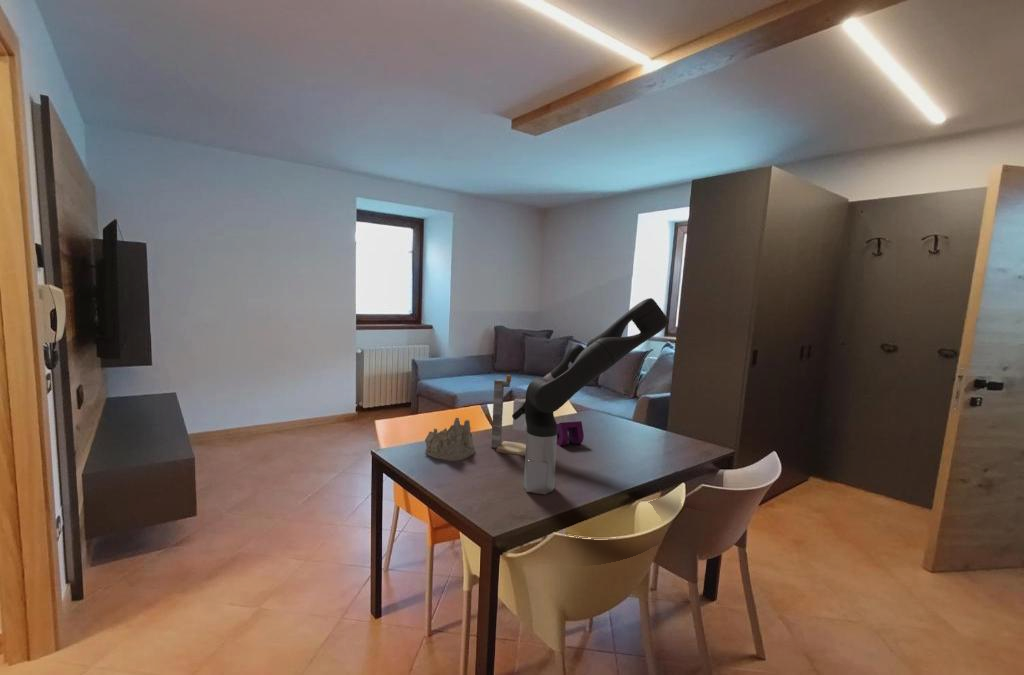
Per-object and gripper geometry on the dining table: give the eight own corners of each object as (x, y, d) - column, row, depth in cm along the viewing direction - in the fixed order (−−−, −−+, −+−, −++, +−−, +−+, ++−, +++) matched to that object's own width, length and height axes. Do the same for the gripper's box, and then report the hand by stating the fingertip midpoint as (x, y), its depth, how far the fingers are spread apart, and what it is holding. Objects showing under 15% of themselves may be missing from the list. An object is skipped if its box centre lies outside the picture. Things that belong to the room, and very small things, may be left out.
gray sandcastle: (481, 451, 163) (480, 411, 162) (451, 465, 149) (449, 422, 148) (450, 444, 172) (449, 407, 171) (419, 457, 158) (417, 416, 157)
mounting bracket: (544, 450, 186) (564, 444, 171) (542, 430, 189) (560, 422, 173) (564, 448, 190) (585, 442, 174) (561, 428, 192) (581, 421, 177)
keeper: (524, 455, 161) (528, 379, 159) (488, 450, 164) (491, 376, 162) (530, 446, 172) (534, 375, 169) (496, 441, 175) (499, 372, 173)
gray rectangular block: (526, 427, 169) (527, 399, 168) (524, 430, 164) (525, 402, 164) (514, 426, 170) (515, 398, 169) (512, 429, 165) (513, 401, 164)
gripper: (552, 398, 157) (518, 428, 160) (555, 391, 171) (524, 418, 174) (538, 383, 157) (504, 413, 160) (542, 376, 171) (511, 404, 174)
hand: (514, 416), depth 167 cm, fingers closed on gray rectangular block, 4 cm apart
